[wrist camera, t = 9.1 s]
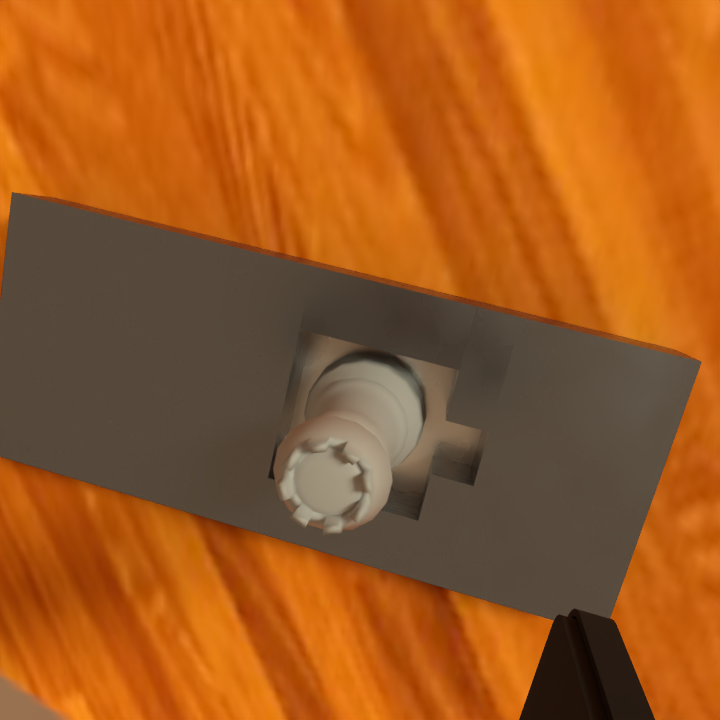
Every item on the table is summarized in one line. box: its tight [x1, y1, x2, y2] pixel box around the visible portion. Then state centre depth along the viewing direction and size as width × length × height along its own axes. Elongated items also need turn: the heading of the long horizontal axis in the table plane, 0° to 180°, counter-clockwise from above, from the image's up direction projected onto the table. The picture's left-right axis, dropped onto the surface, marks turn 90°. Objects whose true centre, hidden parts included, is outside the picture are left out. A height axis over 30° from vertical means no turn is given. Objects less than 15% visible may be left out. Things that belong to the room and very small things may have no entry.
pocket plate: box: [0, 192, 701, 620], centre depth 23 cm, size 10×24×2 cm, turn 77°
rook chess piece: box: [273, 353, 426, 535], centre depth 19 cm, size 4×4×8 cm
